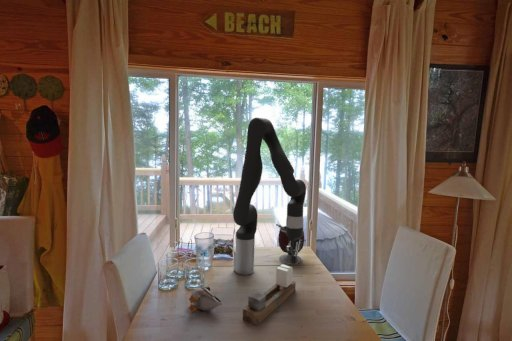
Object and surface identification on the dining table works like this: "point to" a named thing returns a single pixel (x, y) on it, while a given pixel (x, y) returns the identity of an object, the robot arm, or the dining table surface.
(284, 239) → the mate gourd
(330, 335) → the dining table surface
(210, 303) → the decorative duck model
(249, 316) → the beam
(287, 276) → the block
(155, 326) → the dining table surface
